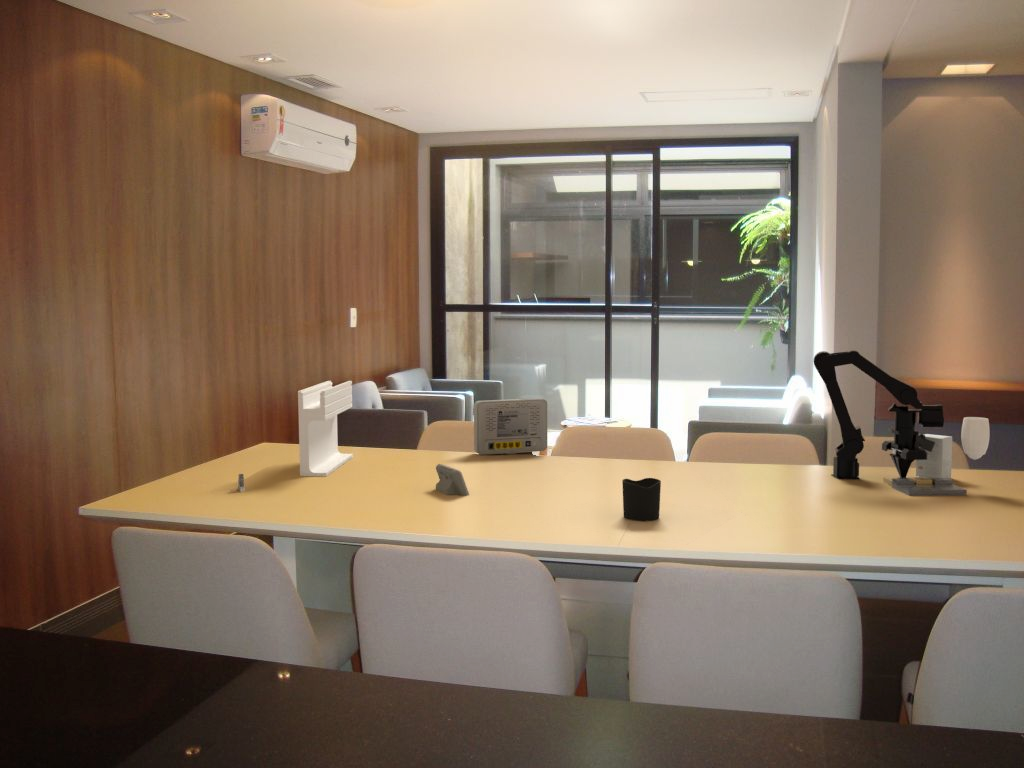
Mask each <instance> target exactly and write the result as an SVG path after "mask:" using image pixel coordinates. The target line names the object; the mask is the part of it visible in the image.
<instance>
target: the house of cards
mask: <svg viewBox="0 0 1024 768" xmlns="http://www.w3.org/2000/svg"><path fill="white" fill-rule="evenodd" d="M244 477H245V475H244V473H239V474H238V479H237V483H238V486H237V489H238V491H239V492H240V493H246V486H245V478H244ZM230 492H236V490H235V489H233V490H230Z"/></svg>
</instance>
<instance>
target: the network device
mask: <svg viewBox="0 0 1024 768" xmlns="http://www.w3.org/2000/svg"><path fill="white" fill-rule="evenodd" d="M547 448H548V401H547V400H546V399H543V398H541V397H539V398H537V397H536V398H513V399H512V398H511V399H509V398H508V399H492V400H491V399H490V400H488V399H487V400H477V401H475V402H474V403H473V450H474V452H475V453H477V454H479V455H480V456H481V455H484V456H485V455H499V454H506V455H516V454H517V453H528V452H529V453H531V452H532V453H533V452H534V453H535V452H545V451H546V450H547Z"/></svg>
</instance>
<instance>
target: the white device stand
mask: <svg viewBox="0 0 1024 768" xmlns="http://www.w3.org/2000/svg"><path fill="white" fill-rule="evenodd" d="M352 385H353V380H348V381H345V382H342V383H339V384H337V385H334V386H333V382H332V380H327V381H323V382H320V383H317V384H315V385H312V386H309V387H306V388H303V389H301V390H298V391H297V403H298V404H297V405H298V412H297V413H298V445H299V446H298V448H299V450H298V451H299V476H300V477H327V476H329V475H330V474H332V473H333V472H334V471H336V470H337V469H339V468H340V467H341V466H343V465H344V464H345V463H347V462H348V461H350V460H351V459H353V457H354V453H342V452H340V451H339V447H338V445H339V443H338V441H339V440H338V439H339V438H338V437H339V436H338V415H339V414H341V413H344V412H345V411H347V410H349V409H351V408H353V394H352V393H353V386H352Z"/></svg>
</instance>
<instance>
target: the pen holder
mask: <svg viewBox="0 0 1024 768" xmlns="http://www.w3.org/2000/svg"><path fill="white" fill-rule="evenodd" d="M661 486H662V482H661V480H660V479H658V478H653V477H646V478H642V479H638V480H633V479H629V478H624V479H622V508H623V509H622V510H623V511H622V512H623V518H624V519H626V520H629V521H632V522H633V521H635V522H651V521H652V522H653V521H657V520H658V519H660V507H661Z"/></svg>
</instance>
